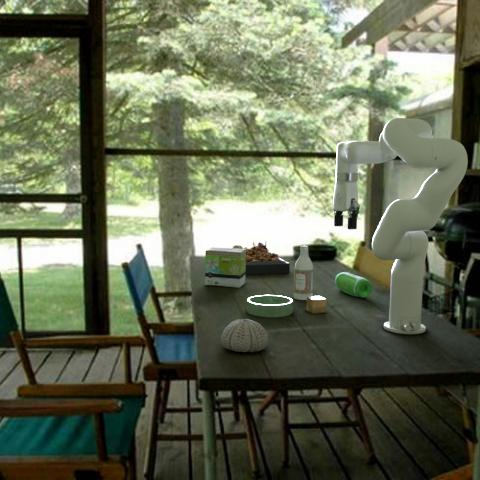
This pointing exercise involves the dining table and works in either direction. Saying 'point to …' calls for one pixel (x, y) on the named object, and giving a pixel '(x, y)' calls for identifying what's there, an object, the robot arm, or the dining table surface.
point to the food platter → (263, 261)
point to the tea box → (225, 267)
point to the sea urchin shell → (244, 336)
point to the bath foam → (303, 275)
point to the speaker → (353, 284)
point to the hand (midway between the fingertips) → (345, 227)
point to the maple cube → (316, 304)
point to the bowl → (270, 306)
